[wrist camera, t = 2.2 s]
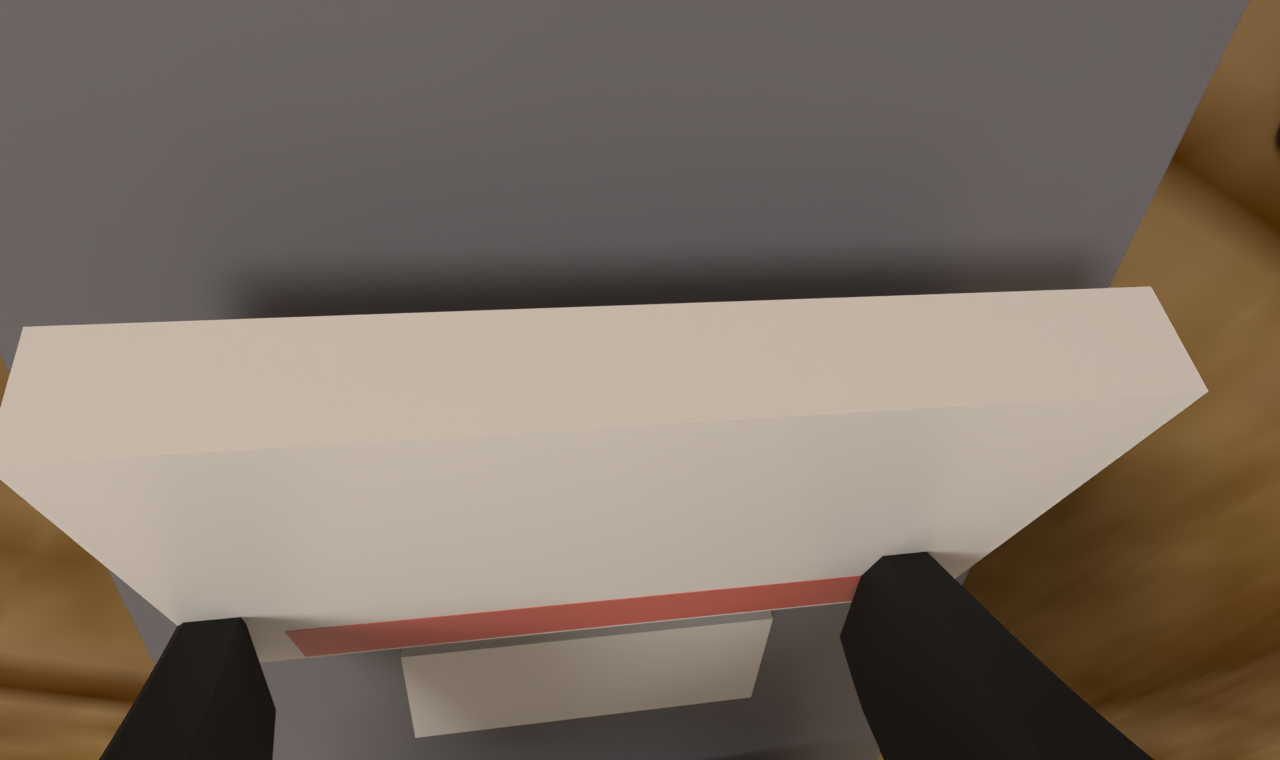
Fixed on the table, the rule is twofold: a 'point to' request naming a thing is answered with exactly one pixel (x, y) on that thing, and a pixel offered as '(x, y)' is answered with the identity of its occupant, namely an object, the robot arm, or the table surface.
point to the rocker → (571, 454)
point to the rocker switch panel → (575, 246)
